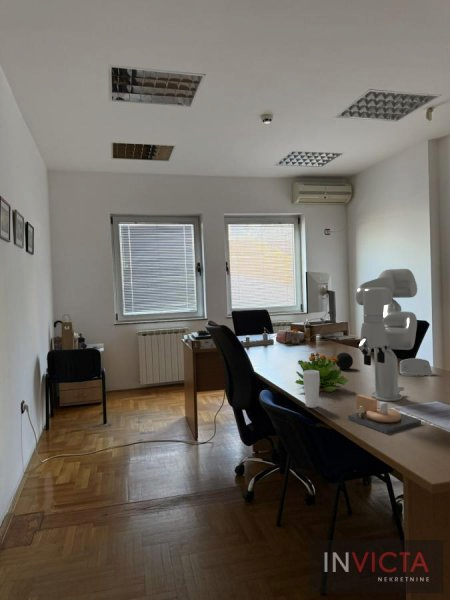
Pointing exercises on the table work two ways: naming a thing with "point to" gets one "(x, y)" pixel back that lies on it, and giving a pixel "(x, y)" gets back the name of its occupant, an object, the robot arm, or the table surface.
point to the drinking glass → (311, 387)
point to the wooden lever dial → (373, 412)
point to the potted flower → (323, 372)
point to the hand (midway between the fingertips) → (374, 363)
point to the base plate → (384, 426)
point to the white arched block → (414, 367)
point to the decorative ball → (344, 360)
